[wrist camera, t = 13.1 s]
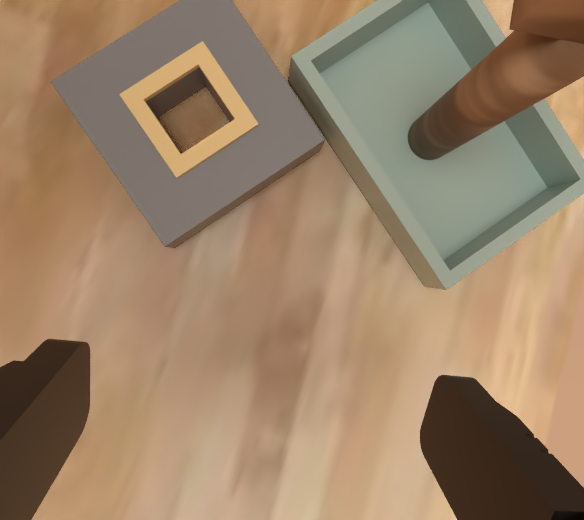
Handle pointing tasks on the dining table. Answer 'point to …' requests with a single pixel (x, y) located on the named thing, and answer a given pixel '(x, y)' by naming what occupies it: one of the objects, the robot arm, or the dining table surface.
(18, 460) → the robot arm
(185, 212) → the plate
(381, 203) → the tray
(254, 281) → the dining table surface
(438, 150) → the t key
